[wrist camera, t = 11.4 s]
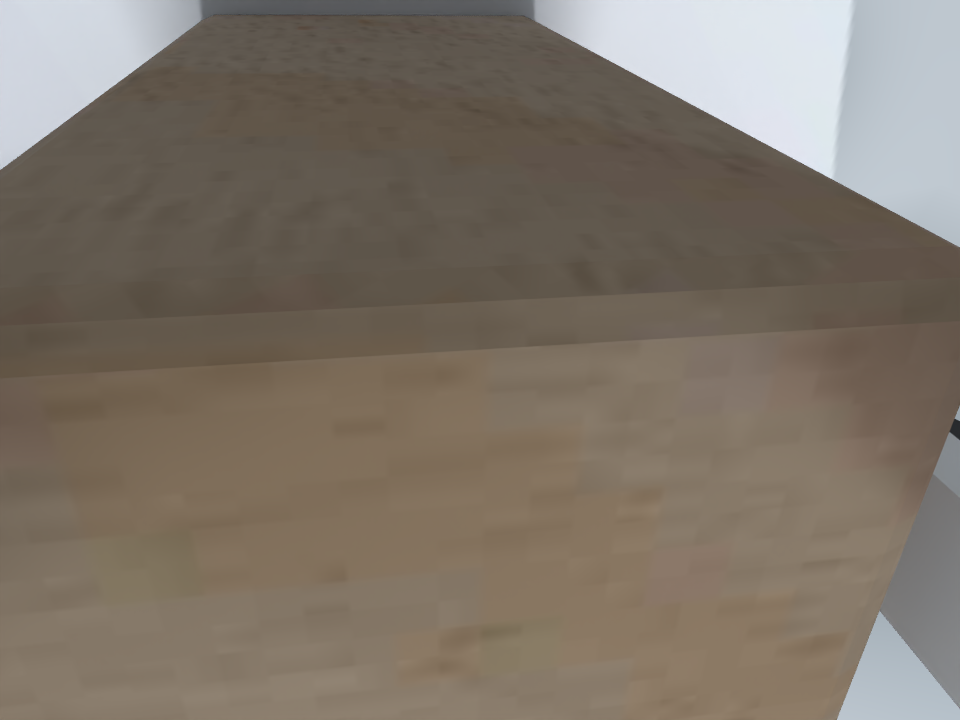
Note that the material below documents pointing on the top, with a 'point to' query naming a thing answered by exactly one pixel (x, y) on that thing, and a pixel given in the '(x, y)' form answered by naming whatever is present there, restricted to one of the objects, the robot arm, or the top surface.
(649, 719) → the wooden block
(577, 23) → the top surface
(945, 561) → the robot arm
